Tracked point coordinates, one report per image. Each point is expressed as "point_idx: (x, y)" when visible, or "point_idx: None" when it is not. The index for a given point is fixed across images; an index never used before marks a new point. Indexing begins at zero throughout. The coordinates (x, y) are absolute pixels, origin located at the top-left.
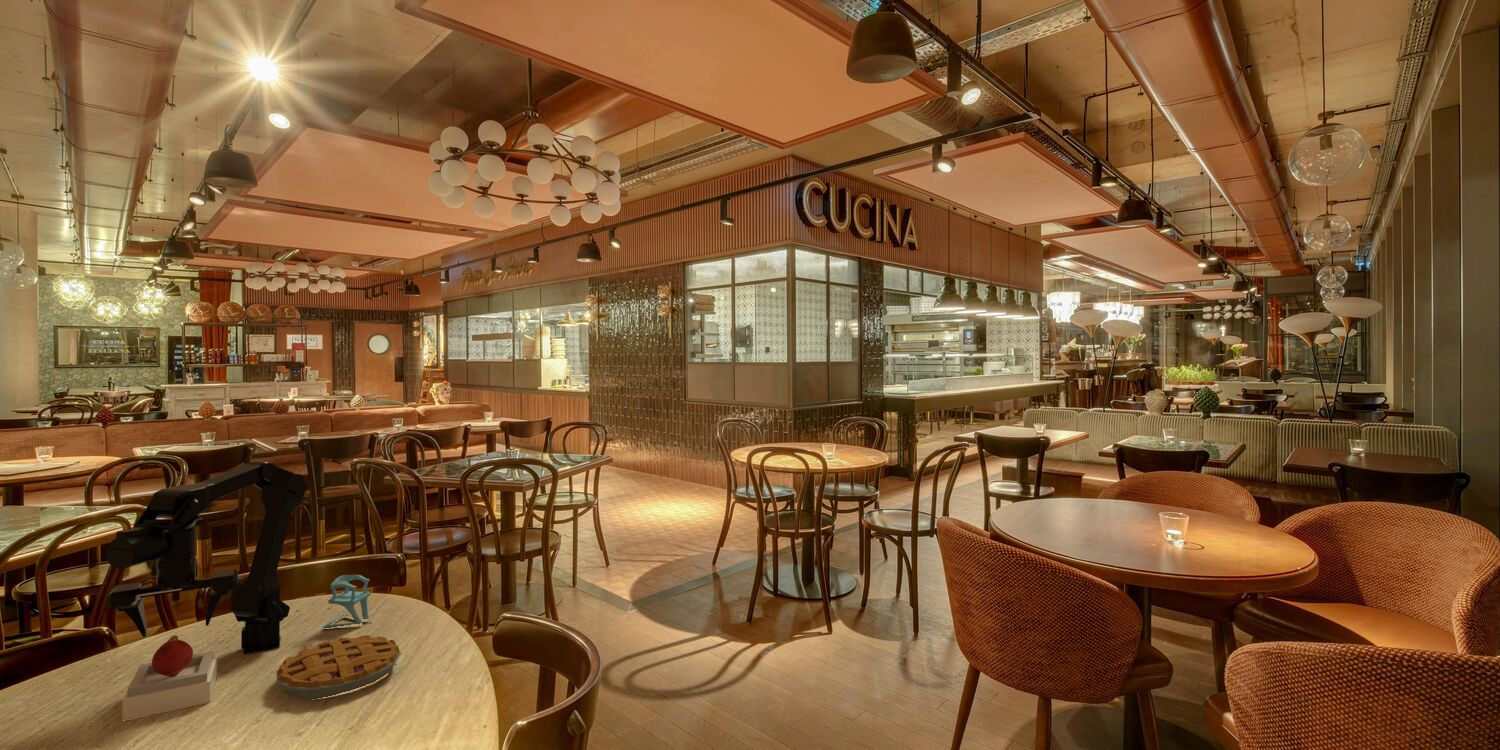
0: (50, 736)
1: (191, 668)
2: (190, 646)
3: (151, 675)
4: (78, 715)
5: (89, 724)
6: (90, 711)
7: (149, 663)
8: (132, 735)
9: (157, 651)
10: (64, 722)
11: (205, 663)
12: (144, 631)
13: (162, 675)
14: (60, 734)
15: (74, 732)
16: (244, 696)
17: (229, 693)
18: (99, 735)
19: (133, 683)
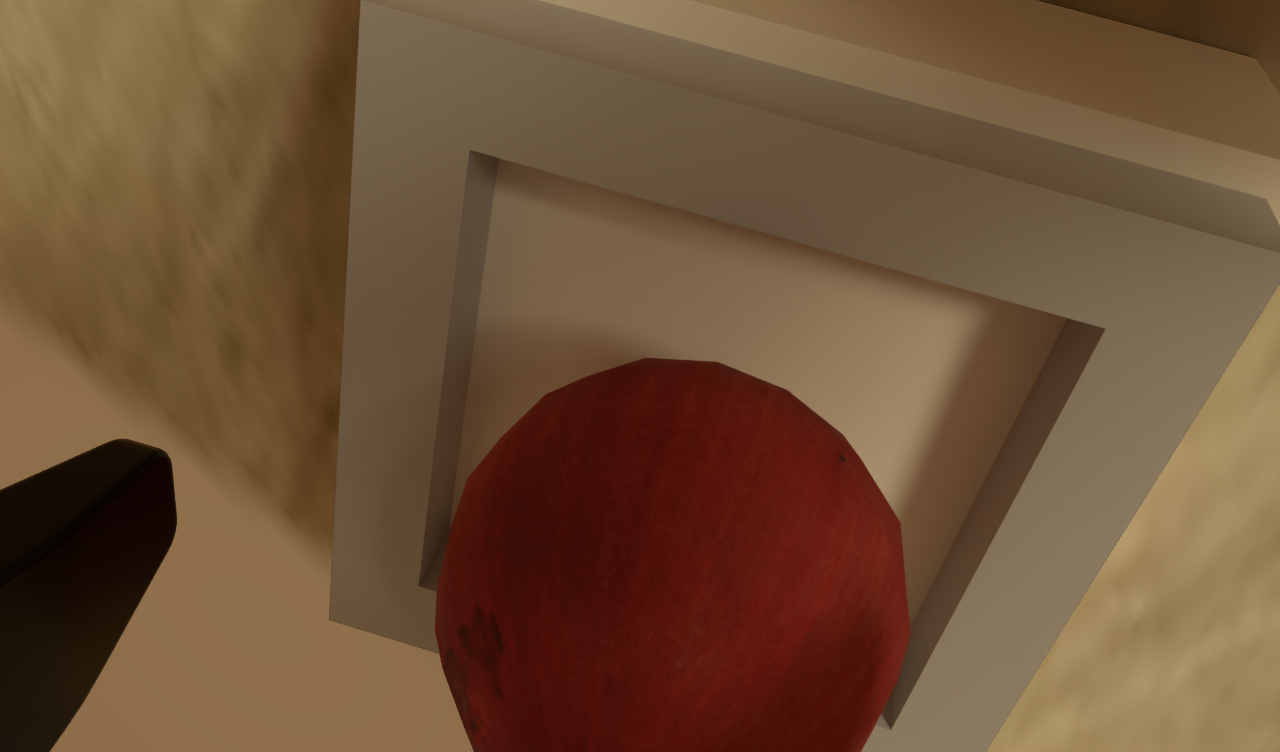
0: (20, 303)
1: (933, 328)
2: (866, 733)
3: (531, 190)
4: (82, 47)
5: (212, 305)
6: (153, 32)
7: (470, 47)
8: None
9: (456, 704)
10: (23, 116)
11: (1028, 588)
12: (87, 676)
13: (635, 289)
14: (72, 322)
15: (151, 361)
16: (1194, 695)
17: (1140, 566)
18: (310, 523)
19: (360, 535)
